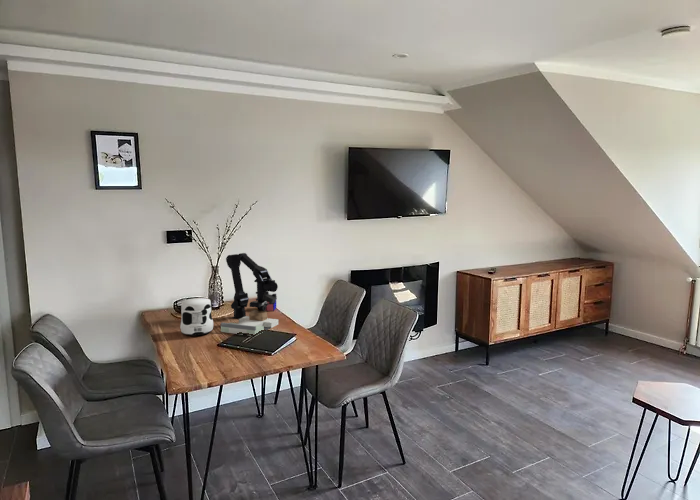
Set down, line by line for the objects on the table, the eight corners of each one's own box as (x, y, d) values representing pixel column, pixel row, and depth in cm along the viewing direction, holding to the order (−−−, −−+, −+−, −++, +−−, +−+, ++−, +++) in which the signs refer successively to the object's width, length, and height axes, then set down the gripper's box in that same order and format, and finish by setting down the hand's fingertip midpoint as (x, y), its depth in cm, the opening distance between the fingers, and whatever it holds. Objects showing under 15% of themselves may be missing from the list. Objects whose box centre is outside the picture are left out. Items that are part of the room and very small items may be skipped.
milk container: (198, 327, 272) (197, 296, 270) (220, 331, 263) (219, 299, 261) (173, 334, 257) (172, 302, 255) (195, 339, 248) (194, 306, 246)
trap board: (221, 331, 263) (220, 323, 262) (246, 320, 286) (246, 312, 285) (254, 336, 255) (254, 327, 254) (278, 324, 278) (278, 316, 277)
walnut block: (249, 319, 277) (249, 312, 276) (254, 317, 281) (253, 310, 281) (262, 321, 273) (262, 313, 273) (267, 319, 278) (267, 311, 278)
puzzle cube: (273, 311, 310) (273, 296, 308) (258, 311, 310) (258, 296, 309) (276, 307, 320) (276, 293, 318) (261, 307, 320) (261, 293, 319)
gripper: (265, 294, 268) (266, 320, 270) (281, 288, 286) (282, 313, 287) (248, 292, 272) (249, 319, 274) (265, 286, 289) (266, 311, 291)
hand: (262, 315), depth 281 cm, fingers closed
